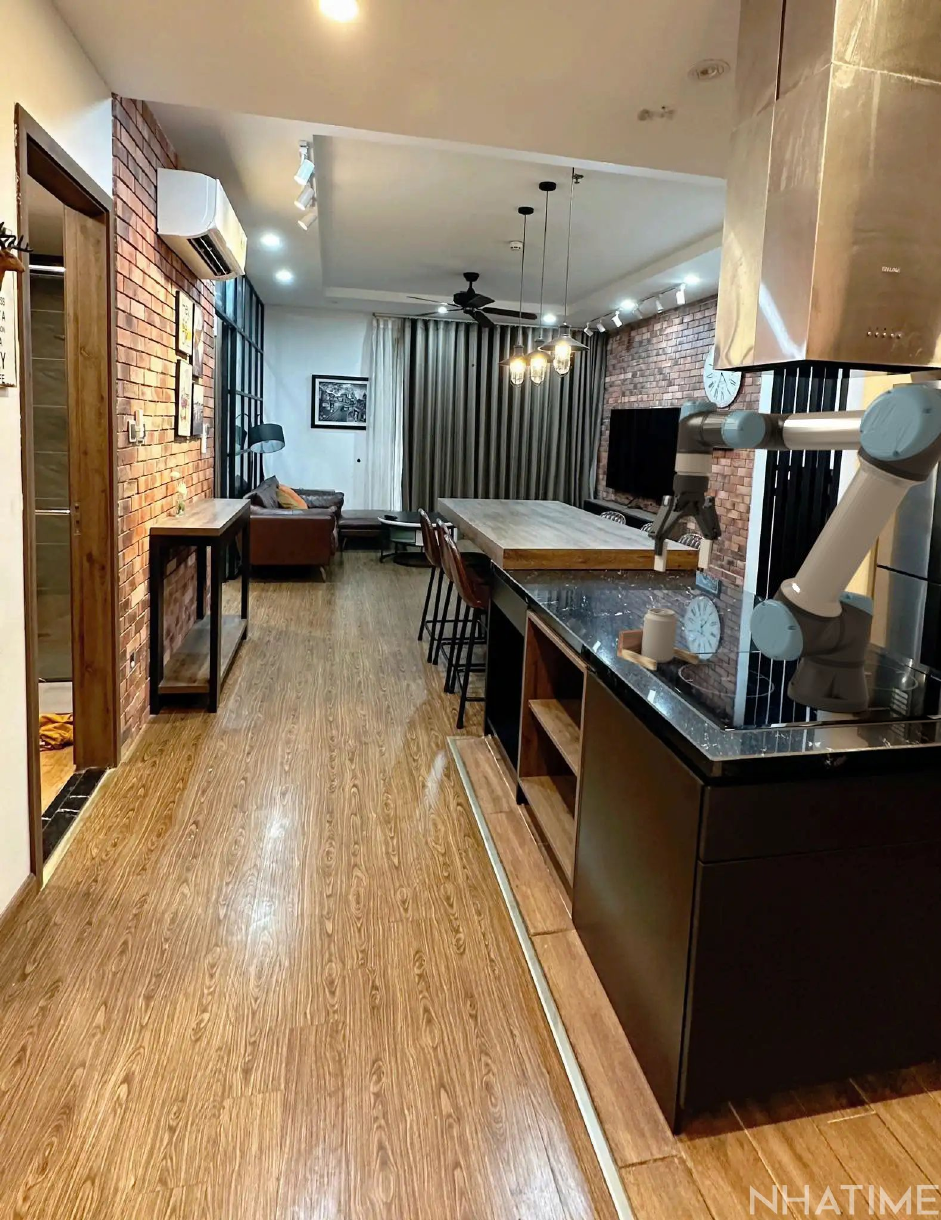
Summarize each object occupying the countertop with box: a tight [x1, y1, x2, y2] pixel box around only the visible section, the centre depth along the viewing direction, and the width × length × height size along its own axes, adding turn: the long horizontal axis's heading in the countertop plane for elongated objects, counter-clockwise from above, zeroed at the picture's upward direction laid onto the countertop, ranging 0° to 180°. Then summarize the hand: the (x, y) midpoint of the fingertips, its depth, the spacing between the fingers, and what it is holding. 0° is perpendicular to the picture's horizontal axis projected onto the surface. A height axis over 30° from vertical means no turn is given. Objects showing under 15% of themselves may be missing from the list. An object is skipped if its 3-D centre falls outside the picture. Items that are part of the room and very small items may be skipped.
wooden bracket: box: [616, 628, 700, 671], centre depth 182 cm, size 12×14×6 cm
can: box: [641, 607, 678, 664], centre depth 182 cm, size 8×8×12 cm
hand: (681, 569), depth 174 cm, fingers open, 13 cm apart
